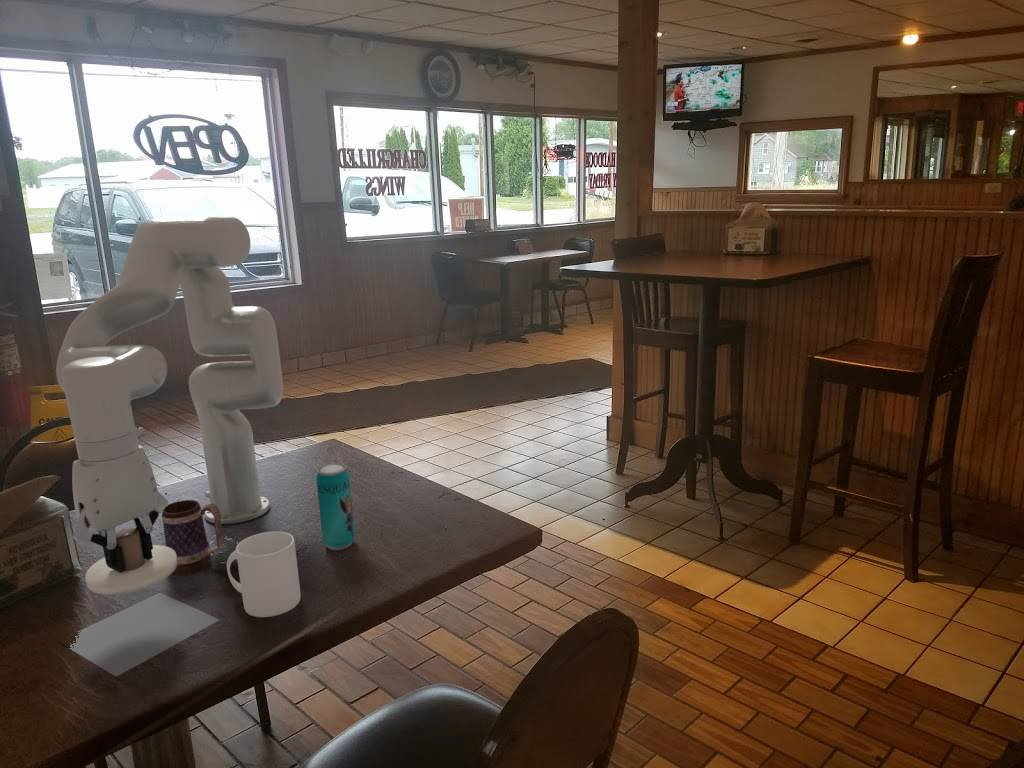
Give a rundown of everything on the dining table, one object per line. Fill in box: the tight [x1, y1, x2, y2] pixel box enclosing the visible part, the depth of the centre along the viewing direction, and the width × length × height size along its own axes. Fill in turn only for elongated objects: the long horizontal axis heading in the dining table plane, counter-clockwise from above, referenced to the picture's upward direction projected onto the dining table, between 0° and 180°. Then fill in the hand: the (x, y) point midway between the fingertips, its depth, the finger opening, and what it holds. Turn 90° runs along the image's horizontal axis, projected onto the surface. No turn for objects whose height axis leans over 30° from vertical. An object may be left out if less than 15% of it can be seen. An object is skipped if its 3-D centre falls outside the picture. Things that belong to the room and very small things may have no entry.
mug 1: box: [161, 499, 225, 576], centre depth 129 cm, size 10×7×12 cm
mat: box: [68, 592, 221, 678], centre depth 111 cm, size 16×16×1 cm
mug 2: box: [226, 531, 302, 618], centre depth 116 cm, size 9×12×11 cm
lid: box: [85, 528, 178, 596], centre depth 108 cm, size 12×12×6 cm
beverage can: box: [315, 462, 355, 551], centre depth 135 cm, size 6×6×15 cm
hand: (131, 562), depth 109 cm, fingers closed on lid, 3 cm apart
